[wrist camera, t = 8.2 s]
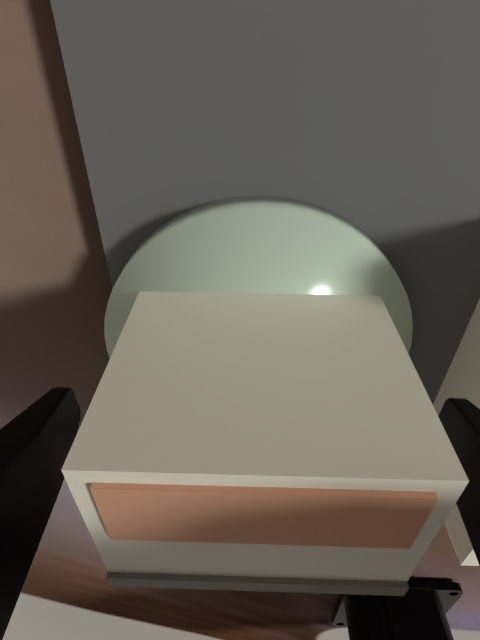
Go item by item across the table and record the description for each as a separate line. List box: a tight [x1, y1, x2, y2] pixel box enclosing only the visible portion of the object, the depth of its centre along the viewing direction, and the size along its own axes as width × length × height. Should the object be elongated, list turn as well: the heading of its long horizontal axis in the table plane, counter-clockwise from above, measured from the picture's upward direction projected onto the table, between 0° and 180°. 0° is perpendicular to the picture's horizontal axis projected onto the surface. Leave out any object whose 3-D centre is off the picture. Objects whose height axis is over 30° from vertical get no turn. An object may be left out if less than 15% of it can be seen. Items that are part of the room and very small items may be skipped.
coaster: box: [104, 196, 413, 358], centre depth 11 cm, size 8×8×1 cm
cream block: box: [61, 291, 469, 596], centre depth 9 cm, size 4×6×5 cm, turn 90°
